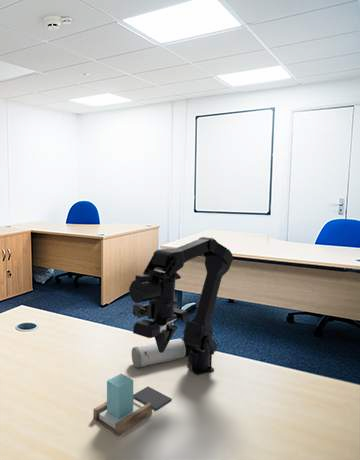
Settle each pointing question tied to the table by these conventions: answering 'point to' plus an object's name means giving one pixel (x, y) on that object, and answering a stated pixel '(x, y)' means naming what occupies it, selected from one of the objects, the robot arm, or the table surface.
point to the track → (126, 421)
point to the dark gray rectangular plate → (152, 397)
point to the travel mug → (159, 353)
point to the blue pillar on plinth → (118, 400)
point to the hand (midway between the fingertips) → (161, 352)
